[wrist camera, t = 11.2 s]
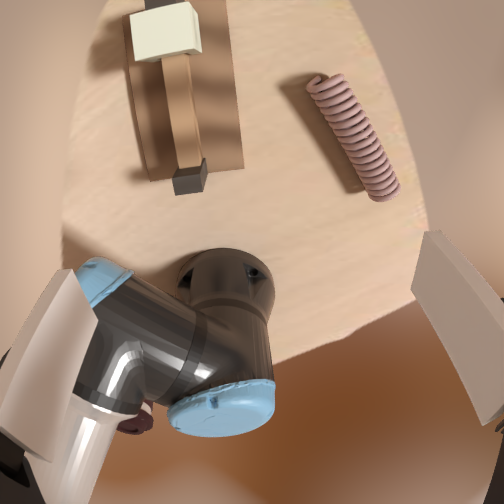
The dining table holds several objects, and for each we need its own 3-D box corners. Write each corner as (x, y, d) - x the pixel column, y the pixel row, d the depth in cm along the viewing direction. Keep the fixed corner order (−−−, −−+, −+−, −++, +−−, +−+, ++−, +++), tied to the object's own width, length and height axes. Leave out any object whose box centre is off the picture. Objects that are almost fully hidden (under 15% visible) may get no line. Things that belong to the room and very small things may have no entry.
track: (244, 166, 37) (245, 186, 31) (151, 179, 37) (136, 201, 32) (225, -4, 25) (222, -21, 19) (124, 17, 25) (101, 8, 20)
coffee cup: (137, 382, 63) (126, 439, 50) (107, 358, 58) (91, 418, 45) (170, 374, 61) (162, 436, 48) (140, 348, 56) (125, 414, 43)
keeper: (202, 53, 28) (193, 48, 23) (153, 62, 28) (135, 60, 23) (197, 14, 26) (188, 1, 20) (149, 24, 26) (129, 15, 20)
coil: (306, 88, 28) (377, 212, 37) (343, 68, 27) (407, 195, 35) (301, 84, 32) (367, 195, 41) (333, 66, 30) (395, 180, 39)
